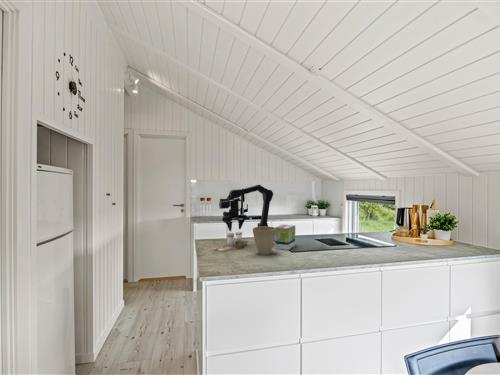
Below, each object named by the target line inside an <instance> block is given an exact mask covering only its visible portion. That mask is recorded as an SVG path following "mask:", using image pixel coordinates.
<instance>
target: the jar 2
mask: <svg viewBox="0 0 500 375" xmlns="http://www.w3.org/2000/svg"><path fill="white" fill-rule="evenodd" d="M238 240H243V231H236V232H235V241H238Z"/></svg>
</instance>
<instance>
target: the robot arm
mask: <svg viewBox="0 0 500 375" xmlns="http://www.w3.org/2000/svg"><path fill="white" fill-rule="evenodd" d="M257 191H258V192H259V193H260V194H262V209H261V210H262V211H261V217H260V222H257V226H256V227H265V226H266V227H269V224H268V218H269V211H270V203H271V202H272V199H273V196H274V192H273V190H271V189H268V188H266V187H264V186H263V185H261V184H255V185H252V186H249V187H245V188H242V189H241V188H239V189H232V190H229V193H228V194H229V195H228V196H227V197H226V198H219V202H218V208H219V209H220V210H221V209H222V210H223V209H229V208H230V209H229V210H228V211H223V212H222V216H223V217H222V218H221V220H222V222H223V223H225V224H226V226H227V228H228V231H229V232H232V227H233V220H237V221H238V222H237V223H238V230H241V228H242V226H243V224H244V222H245V221H246V219H247V215H246V214H240V211H241V209H239V202H242V199H240V197H242V196H244V195H247V194H250V193H254V192H257Z"/></svg>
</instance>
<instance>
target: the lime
mask: <svg viewBox="0 0 500 375" xmlns="http://www.w3.org/2000/svg"><path fill="white" fill-rule="evenodd" d="M242 241H244V242H245V246H247V245H248V244H249V240H248V239H246V238H244V239H243V238H242Z"/></svg>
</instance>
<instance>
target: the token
mask: <svg viewBox="0 0 500 375" xmlns="http://www.w3.org/2000/svg"><path fill="white" fill-rule="evenodd" d="M242 240H243V239H242ZM242 240H238V241H236V240H234V247H235V249H237V250H243V249H245V246H246V245H245V242H244V241H242Z"/></svg>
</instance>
